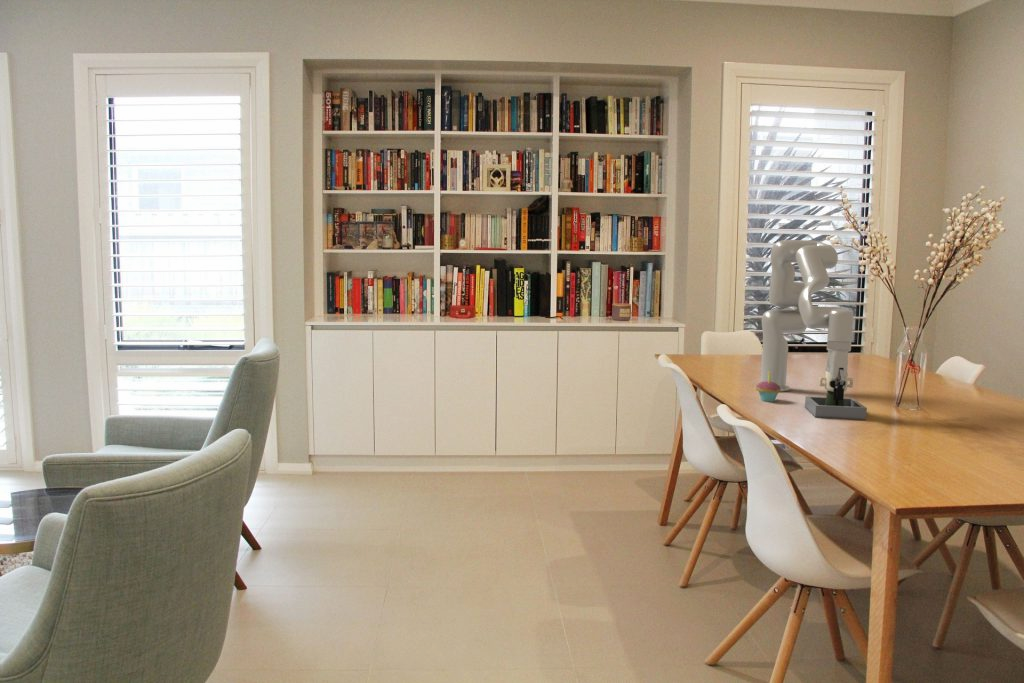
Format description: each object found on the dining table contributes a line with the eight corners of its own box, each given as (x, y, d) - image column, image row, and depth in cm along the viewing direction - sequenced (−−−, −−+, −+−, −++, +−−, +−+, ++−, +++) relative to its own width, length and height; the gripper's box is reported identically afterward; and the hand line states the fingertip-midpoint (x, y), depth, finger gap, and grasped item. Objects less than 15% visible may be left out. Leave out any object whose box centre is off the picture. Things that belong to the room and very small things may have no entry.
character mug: (819, 411, 263) (822, 373, 262) (815, 406, 270) (817, 369, 269) (853, 412, 262) (856, 374, 260) (848, 408, 269) (850, 371, 267)
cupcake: (781, 403, 281) (783, 370, 280) (756, 402, 283) (758, 369, 282) (778, 398, 290) (780, 366, 288) (754, 397, 291) (756, 365, 290)
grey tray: (804, 407, 275) (805, 396, 274) (852, 409, 273) (853, 398, 272) (815, 417, 259) (815, 405, 259) (865, 419, 257) (866, 408, 256)
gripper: (821, 342, 272) (817, 392, 275) (833, 349, 255) (829, 402, 257) (843, 343, 271) (839, 393, 273) (857, 350, 254) (853, 403, 256)
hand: (835, 397), depth 265 cm, fingers closed on character mug, 7 cm apart
